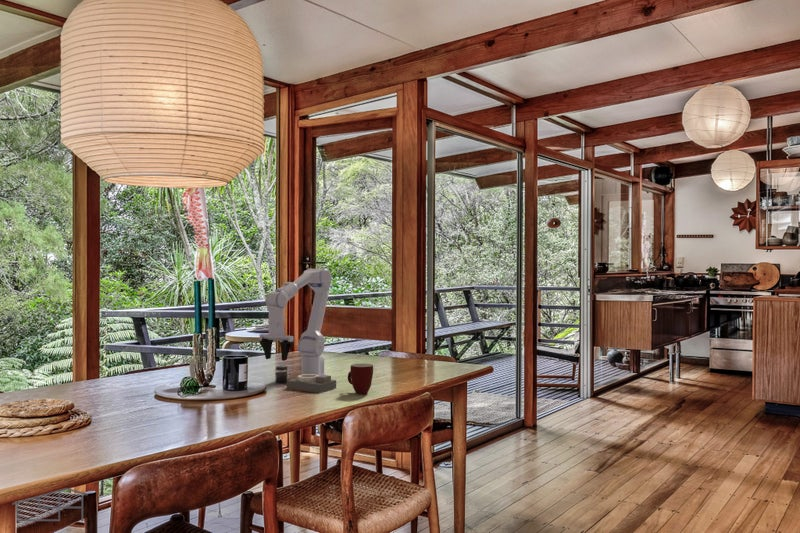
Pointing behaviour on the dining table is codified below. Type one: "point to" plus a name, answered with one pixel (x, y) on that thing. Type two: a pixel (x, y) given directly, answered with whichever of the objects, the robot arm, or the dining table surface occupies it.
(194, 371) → the cup
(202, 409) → the dining table surface
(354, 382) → the mug
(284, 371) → the lens
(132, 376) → the dining table surface
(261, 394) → the dining table surface
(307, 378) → the camera body
